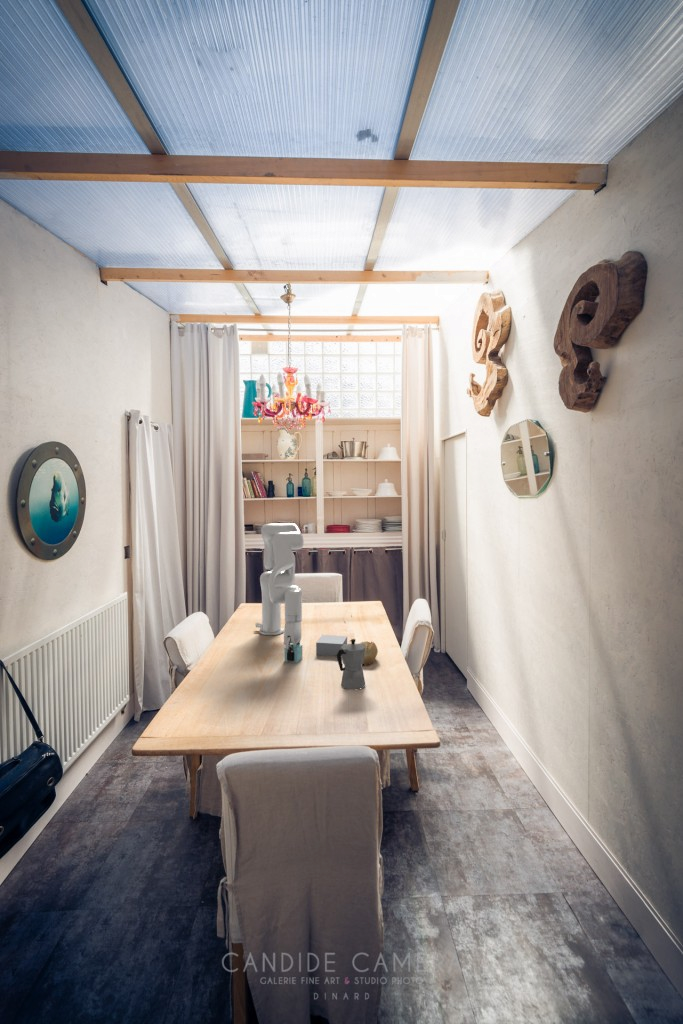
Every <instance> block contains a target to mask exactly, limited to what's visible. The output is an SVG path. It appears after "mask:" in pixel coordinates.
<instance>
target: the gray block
mask: <svg viewBox="0 0 683 1024" xmlns="http://www.w3.org/2000/svg"><path fill="white" fill-rule="evenodd" d="M344 644H348V636H347V635H336V634H335V635H333V634H331V635H328V634H321V635H320V637H319V638H318V640H317V641H316V642H315V651H316V652H315V653H316V654H315V655H316V656H323V655H329V656H328V657H337V653H338V651H339V650H341V647H342V646H343V645H344ZM341 656H342V655H341Z"/></svg>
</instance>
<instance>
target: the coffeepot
mask: <svg viewBox="0 0 683 1024" xmlns="http://www.w3.org/2000/svg"><path fill="white" fill-rule="evenodd" d="M350 642H351V643H347V644H344V645H343V646H342V647H341V650H339V651H338V653H337V656H336V660H337V663H338V666H339V669H340V670H339V671H341V672H342V678H341V682H340V683H341V684H340V686H341V687H342V688H343V687H344V688H343V689H344V690H349V689H353V690H352V691H356V690H355V689H358V690H361V689H360V688H362V689H363V688H364V687H365V685H366V681H365V680H366V679H365V675H364V670H363V666H362V664H363V660H364V654H365V646H364V645H365V644H361V642H360V643H356V639H353V638H352V639H351V640H350ZM341 655H342V657H341ZM343 665H344V667H343Z"/></svg>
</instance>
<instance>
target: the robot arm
mask: <svg viewBox="0 0 683 1024" xmlns="http://www.w3.org/2000/svg"><path fill="white" fill-rule="evenodd" d="M260 530H261V531H260V535H261V537H262V541H263V544H264V548H263V549H264V550H263V551H264V552H263V566H264V568H265V570H266V571H265V572H262V573H261V574H260V577H259V582H260V589H261V622H255V628H259V631H258V632H259V634H261V635H264V636H276V635H278V636H279V635H281V634H283V645H285V647H286V649H287V661H294V652H293V651H294V645H295V644H298V645H301V640H302V623H301V622H302V621H303V594H302V593H303V592H302V588H300V586H299V585H294V584H295V577H296V576H295V572H296V556H295V554H294V552H293V550H301V549H303V547H304V543H305V542H304V537H303V534H302V532H301V530H300V529H299V527H298V525H297V524H296V523H293V522H291V523H290V522H288V523H287V522H286V523H265V524H263V525H262V527H261V529H260ZM281 604H284V622H285V623H284V627H282V625H281V624H282V621H281V620H282V615H281V614H282V610H281V609H282V607H281V606H282V605H281ZM291 644H292V645H291ZM290 646H292V648H291V647H290ZM287 661H286V662H287Z"/></svg>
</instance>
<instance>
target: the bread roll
mask: <svg viewBox="0 0 683 1024" xmlns="http://www.w3.org/2000/svg"><path fill="white" fill-rule="evenodd" d="M360 643H361V644H365V645H364V646H365V654H364V660H363V664H364V665H363V666H368V665H370V664H372V663H373V662H374V661H375V660H376V657H377V655H378V650H379V649H378V647H377V645H376V643H375V642H374V641H361V642H360ZM367 664H368V665H367Z"/></svg>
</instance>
